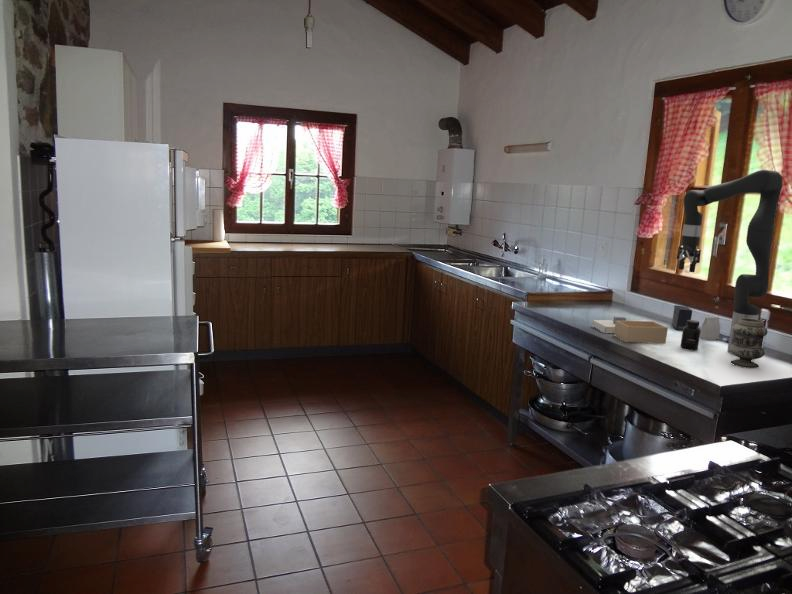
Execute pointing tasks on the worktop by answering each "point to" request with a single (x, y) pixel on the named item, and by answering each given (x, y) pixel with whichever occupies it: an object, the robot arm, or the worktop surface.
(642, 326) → the box
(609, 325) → the mailer lid
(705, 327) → the printed product carton
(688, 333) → the supplement bottle
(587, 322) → the worktop surface
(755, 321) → the apothecary jar
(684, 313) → the small box
